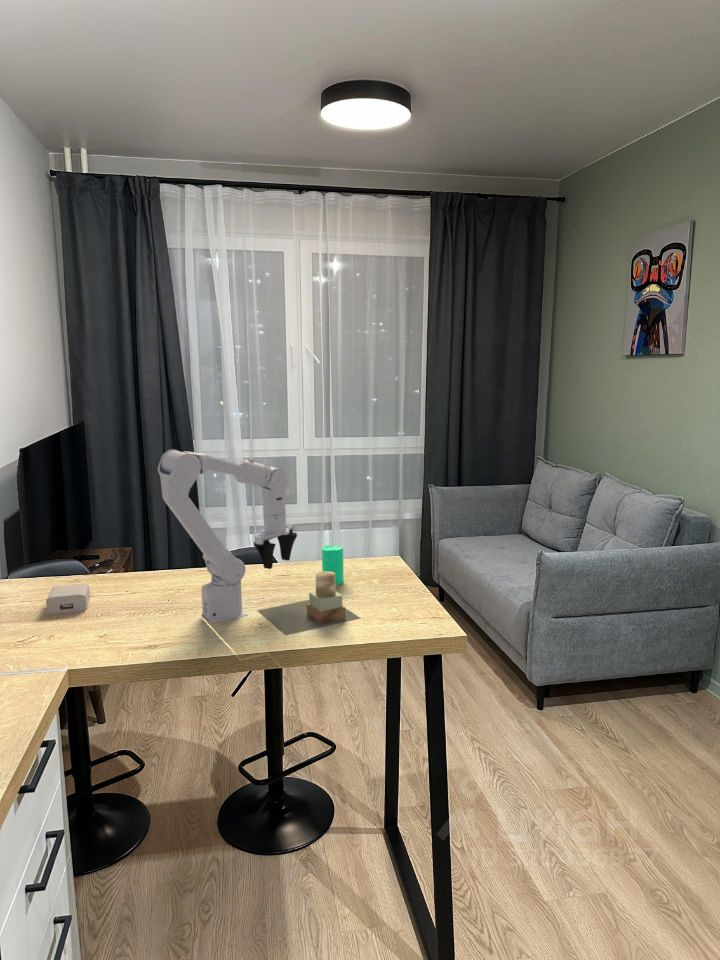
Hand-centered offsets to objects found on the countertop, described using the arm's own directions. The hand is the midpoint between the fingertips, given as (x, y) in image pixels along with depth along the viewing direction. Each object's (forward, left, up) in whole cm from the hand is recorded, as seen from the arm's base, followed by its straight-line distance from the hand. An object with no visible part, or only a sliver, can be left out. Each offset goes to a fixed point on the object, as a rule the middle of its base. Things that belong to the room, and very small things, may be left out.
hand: (277, 563), depth 174 cm
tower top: (+5, -17, -7) cm, 19 cm away
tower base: (+5, -17, -10) cm, 20 cm away
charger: (-47, +28, -11) cm, 56 cm away
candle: (+19, +6, -11) cm, 23 cm away
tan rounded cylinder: (+5, -17, -4) cm, 18 cm away
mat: (+2, -13, -10) cm, 17 cm away
